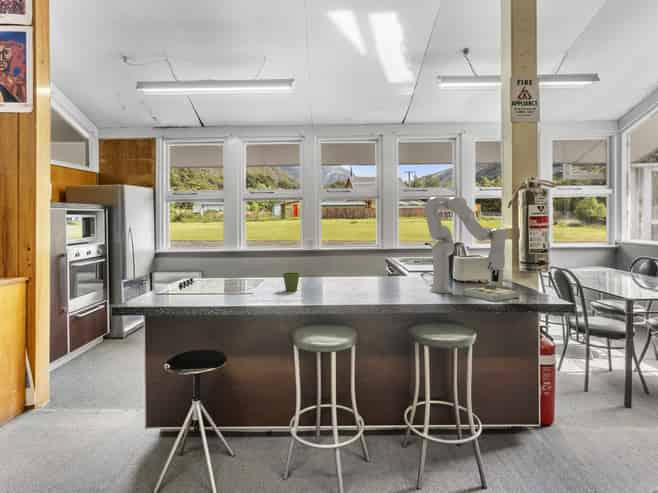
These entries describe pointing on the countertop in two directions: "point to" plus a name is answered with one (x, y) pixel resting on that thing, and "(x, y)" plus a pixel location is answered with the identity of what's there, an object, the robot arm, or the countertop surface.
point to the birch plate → (498, 292)
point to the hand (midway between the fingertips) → (495, 281)
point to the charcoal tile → (490, 286)
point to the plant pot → (291, 280)
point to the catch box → (483, 295)
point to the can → (500, 279)
